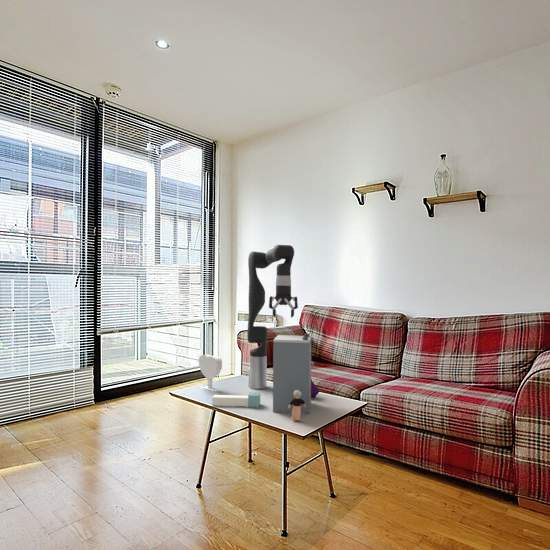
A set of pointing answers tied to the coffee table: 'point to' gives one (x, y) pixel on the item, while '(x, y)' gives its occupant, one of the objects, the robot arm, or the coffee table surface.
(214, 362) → the heart sculpture
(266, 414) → the coffee table surface
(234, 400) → the cartridge
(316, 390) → the perfume bottle
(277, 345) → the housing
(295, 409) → the grandmother figurine
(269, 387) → the coffee table surface
